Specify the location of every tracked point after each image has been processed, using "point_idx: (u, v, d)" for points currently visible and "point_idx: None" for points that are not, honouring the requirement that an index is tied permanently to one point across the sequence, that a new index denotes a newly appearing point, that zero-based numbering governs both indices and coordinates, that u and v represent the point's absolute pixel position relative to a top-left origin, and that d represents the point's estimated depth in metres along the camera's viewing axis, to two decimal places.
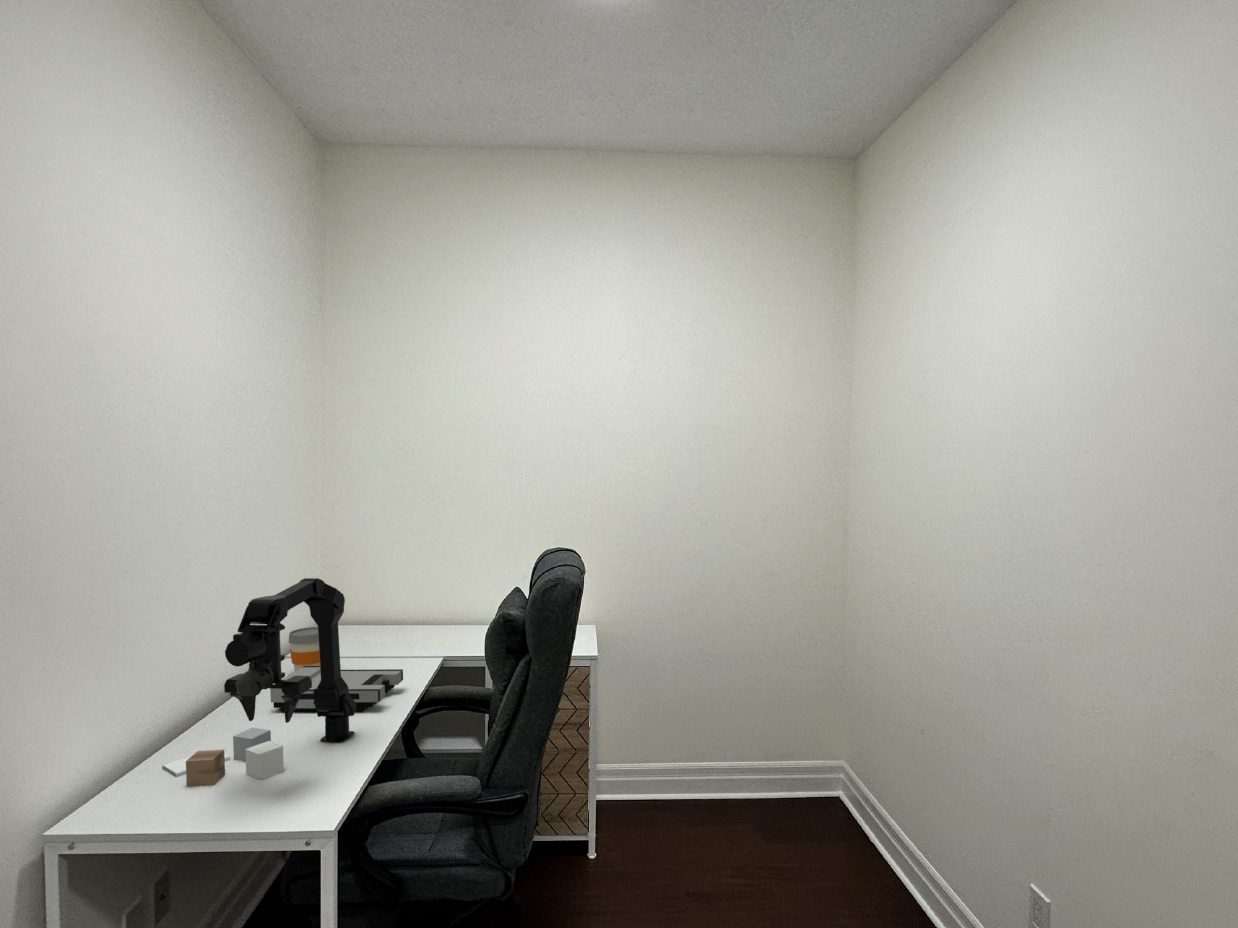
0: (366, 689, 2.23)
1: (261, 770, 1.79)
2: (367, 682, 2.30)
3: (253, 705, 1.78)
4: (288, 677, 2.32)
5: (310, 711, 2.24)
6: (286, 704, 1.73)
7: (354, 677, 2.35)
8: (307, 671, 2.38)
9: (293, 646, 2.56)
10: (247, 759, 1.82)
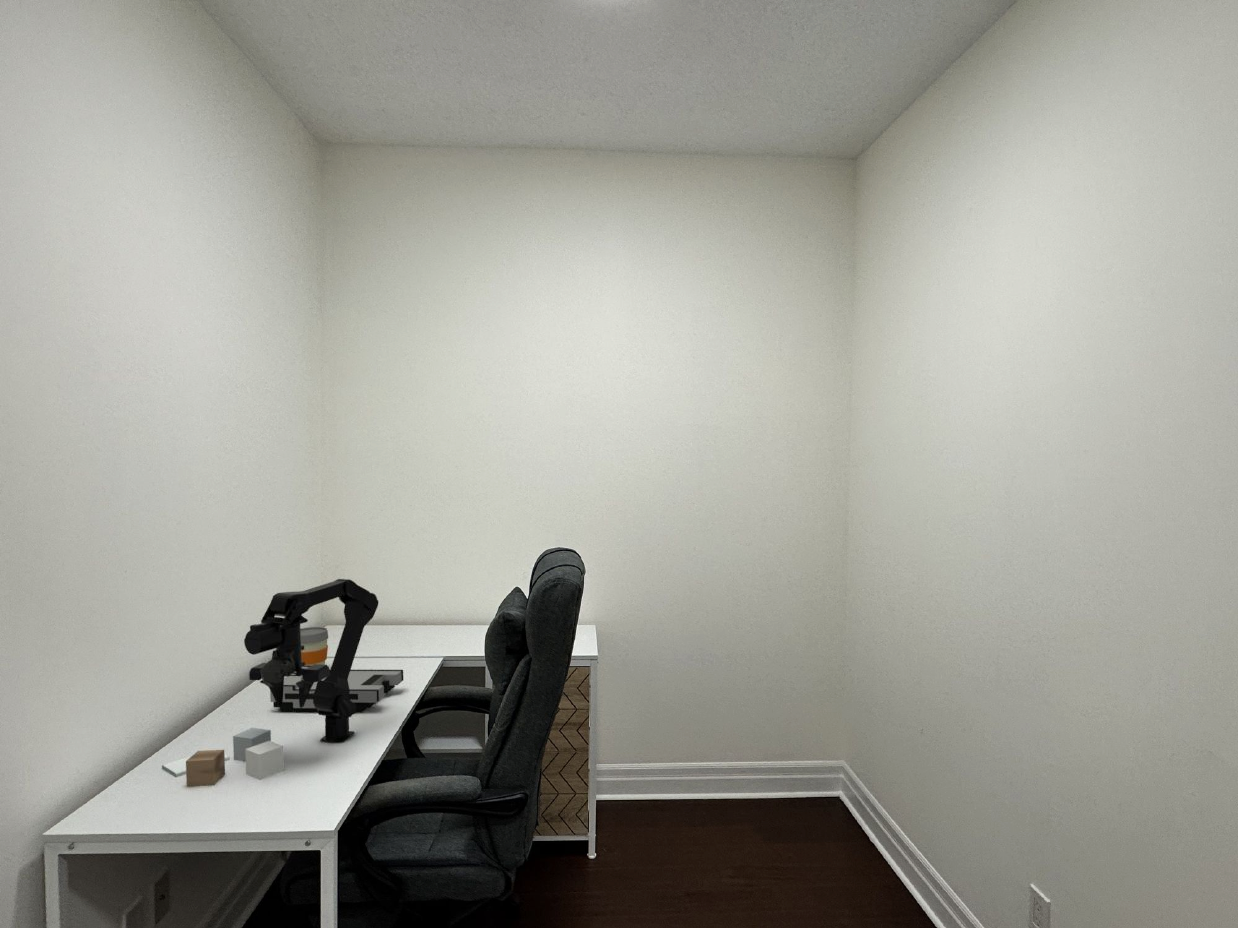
0: (365, 689, 2.23)
1: (261, 770, 1.79)
2: (367, 682, 2.29)
3: (281, 692, 1.92)
4: (288, 677, 2.32)
5: (309, 711, 2.24)
6: (300, 690, 1.88)
7: (354, 677, 2.35)
8: None
9: None
10: (247, 759, 1.82)
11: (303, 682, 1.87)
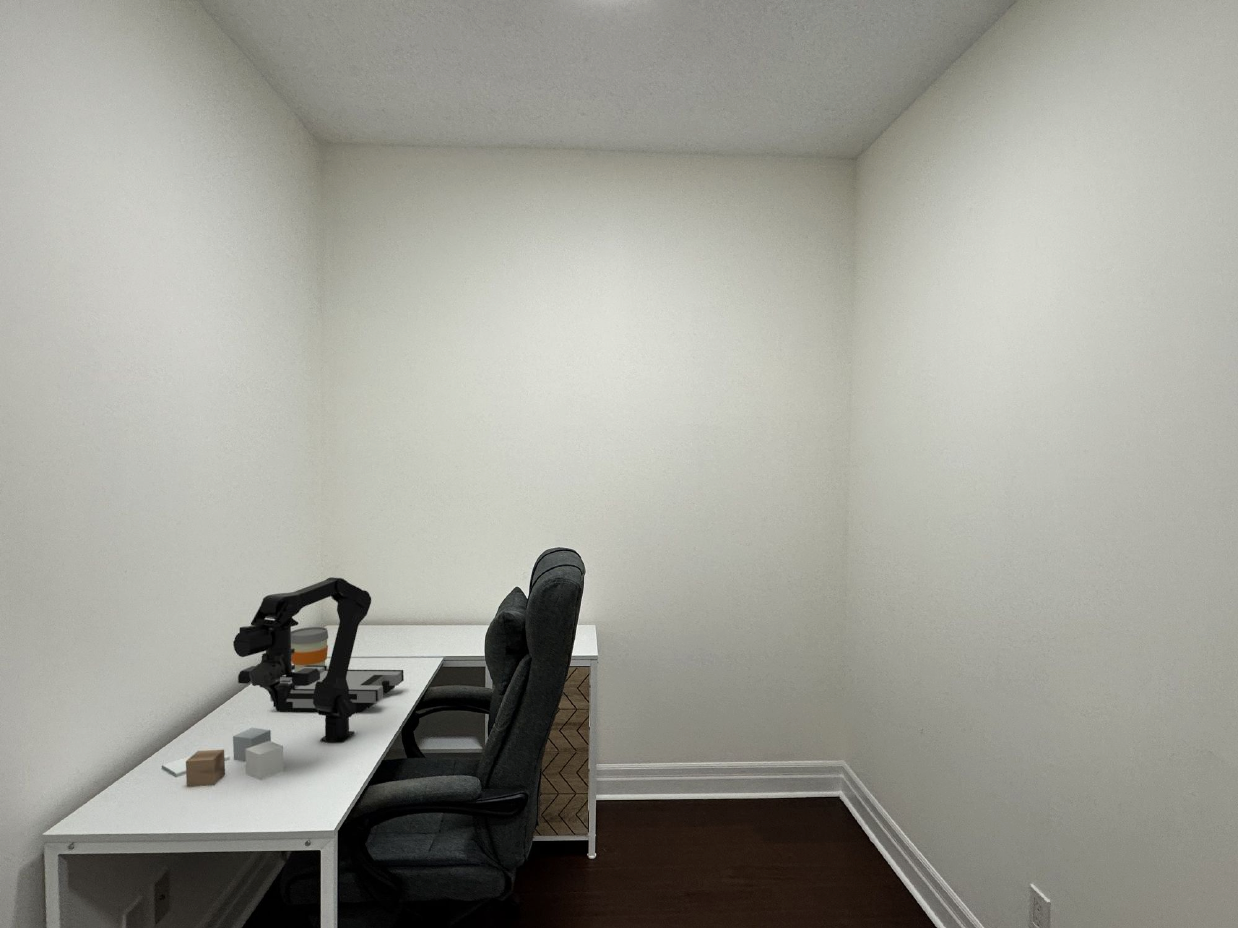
0: (364, 689, 2.23)
1: (261, 770, 1.79)
2: (366, 682, 2.29)
3: None
4: None
5: (309, 711, 2.24)
6: (279, 694, 1.86)
7: (354, 677, 2.35)
8: None
9: (293, 646, 2.56)
10: (247, 759, 1.82)
11: (282, 685, 1.85)
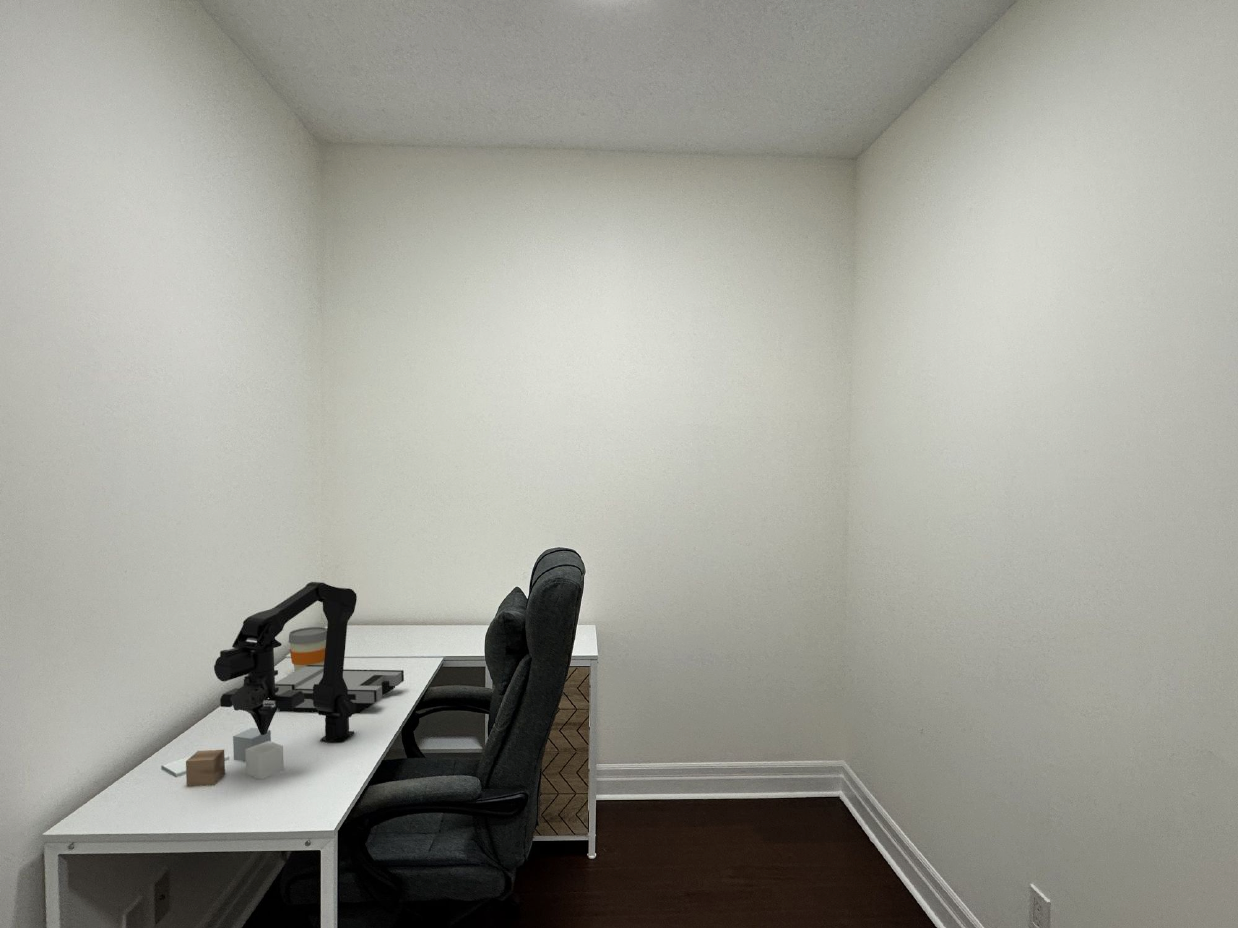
0: (363, 689, 2.22)
1: (261, 770, 1.79)
2: (366, 682, 2.29)
3: None
4: (289, 676, 2.33)
5: (308, 710, 2.24)
6: (262, 717, 1.81)
7: (354, 677, 2.35)
8: (309, 670, 2.39)
9: (293, 646, 2.56)
10: (247, 759, 1.82)
11: (265, 709, 1.80)
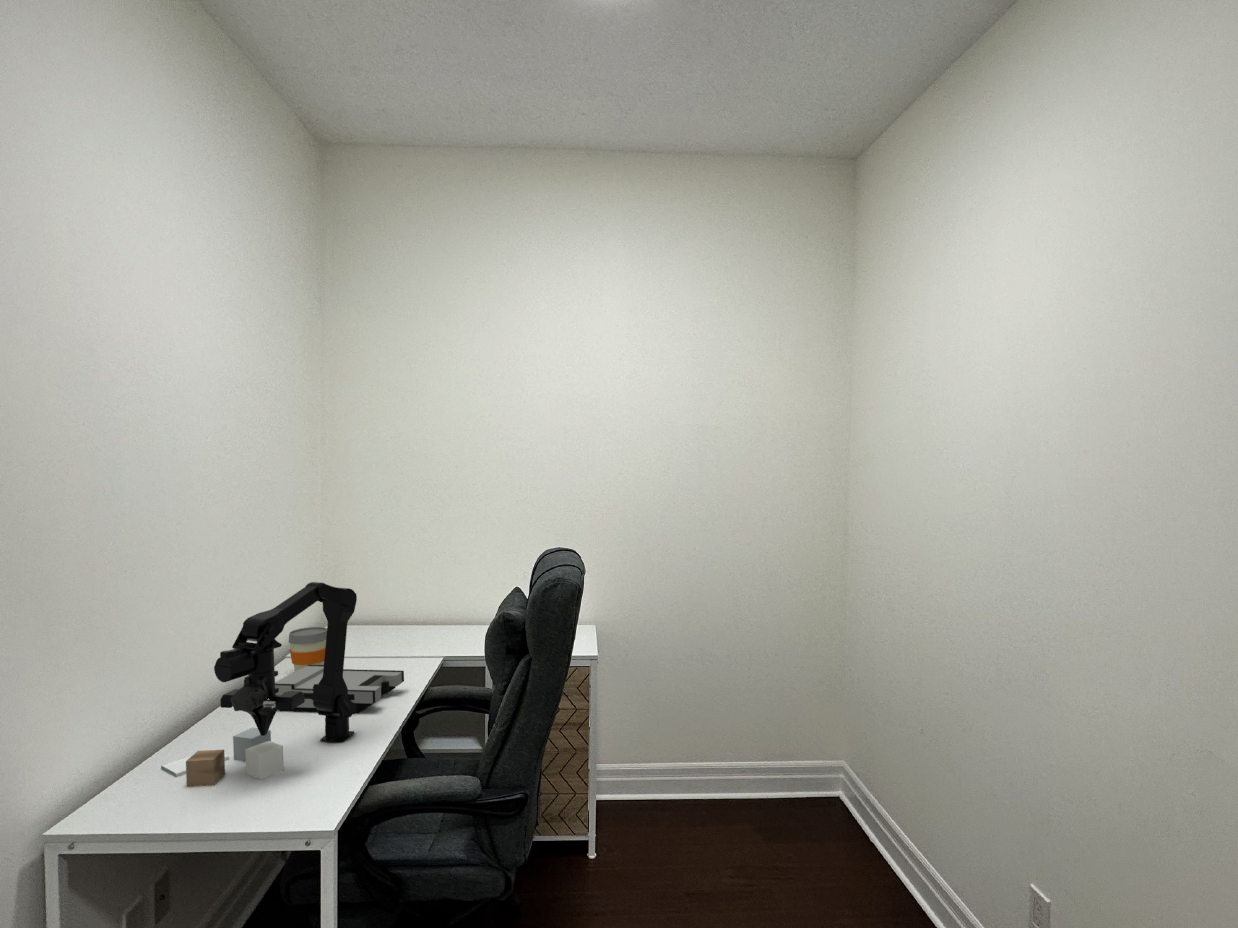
0: (362, 690, 2.22)
1: (261, 770, 1.79)
2: (365, 683, 2.29)
3: None
4: (289, 676, 2.33)
5: (308, 710, 2.24)
6: (263, 718, 1.81)
7: (354, 677, 2.35)
8: (310, 670, 2.39)
9: (293, 646, 2.56)
10: (247, 759, 1.82)
11: (265, 709, 1.80)
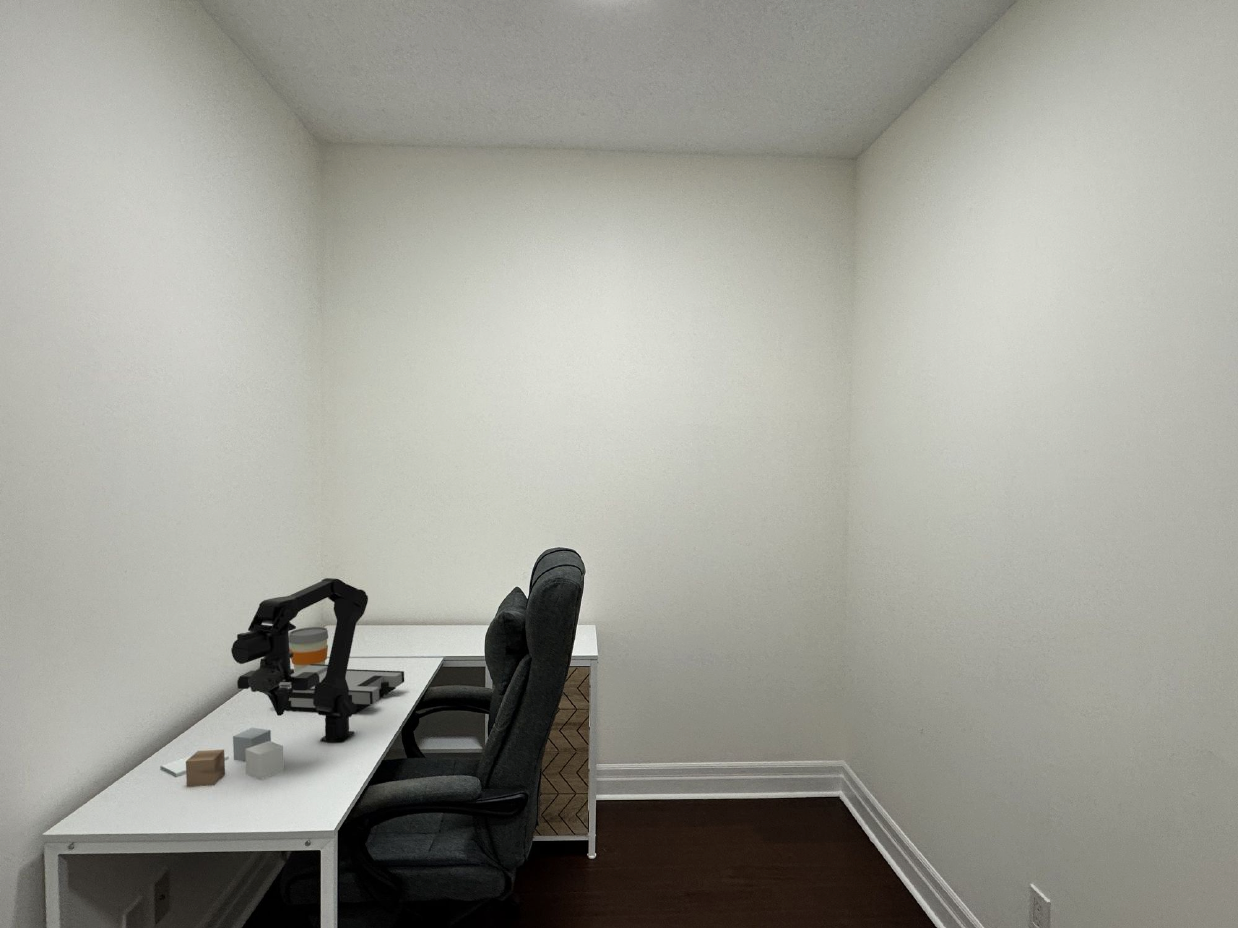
0: (359, 690, 2.22)
1: (261, 770, 1.79)
2: (364, 683, 2.28)
3: None
4: None
5: (307, 710, 2.25)
6: (279, 698, 1.85)
7: (354, 677, 2.34)
8: (311, 669, 2.40)
9: (293, 646, 2.56)
10: (247, 759, 1.82)
11: (282, 690, 1.84)
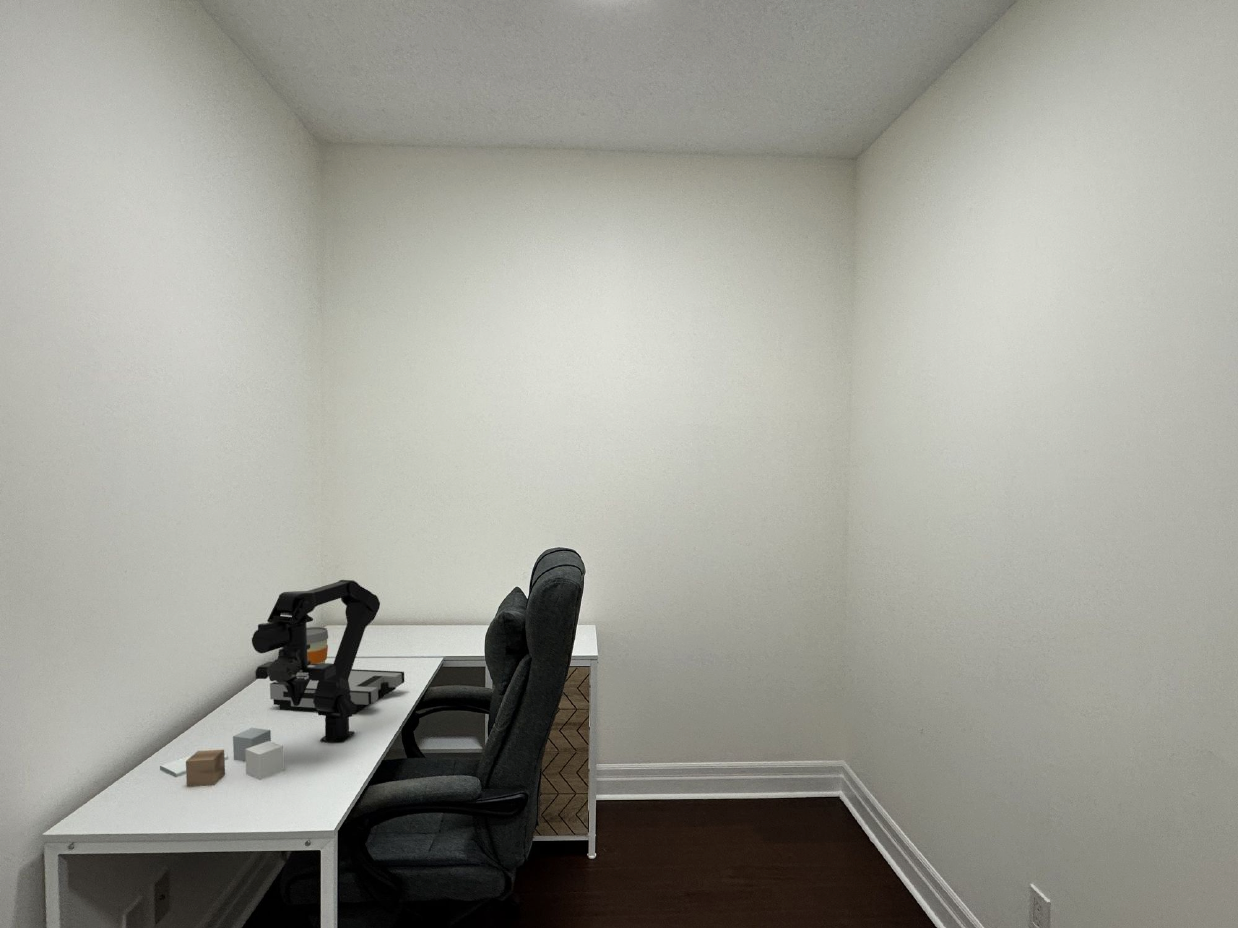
0: (358, 691, 2.21)
1: (261, 770, 1.79)
2: (363, 683, 2.28)
3: None
4: None
5: (306, 710, 2.25)
6: (296, 688, 1.90)
7: (354, 677, 2.34)
8: None
9: None
10: (247, 759, 1.82)
11: (299, 680, 1.88)
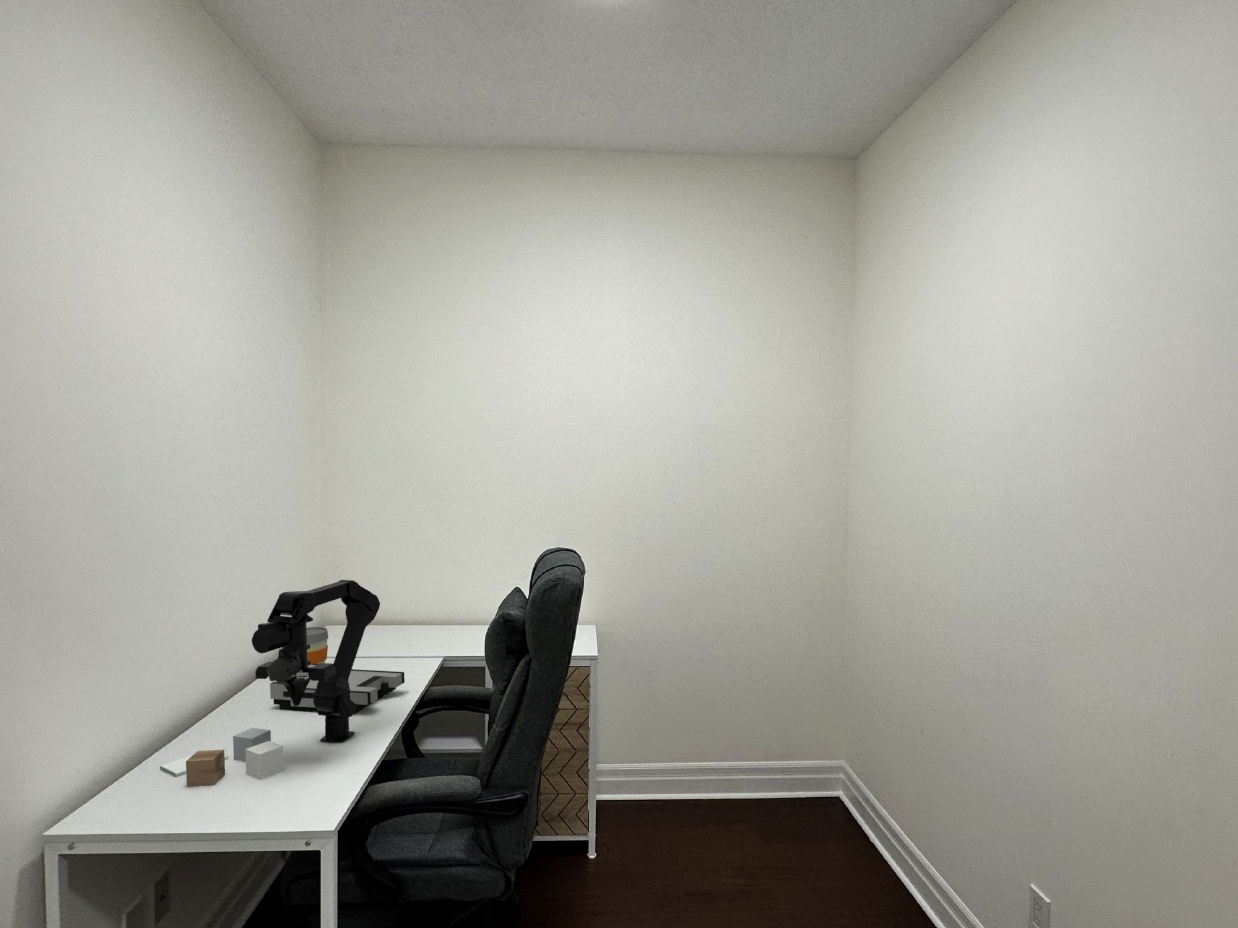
0: (358, 691, 2.21)
1: (261, 770, 1.79)
2: (363, 683, 2.28)
3: None
4: None
5: (306, 710, 2.25)
6: (296, 688, 1.90)
7: (354, 677, 2.34)
8: None
9: None
10: (247, 759, 1.82)
11: (299, 680, 1.88)
